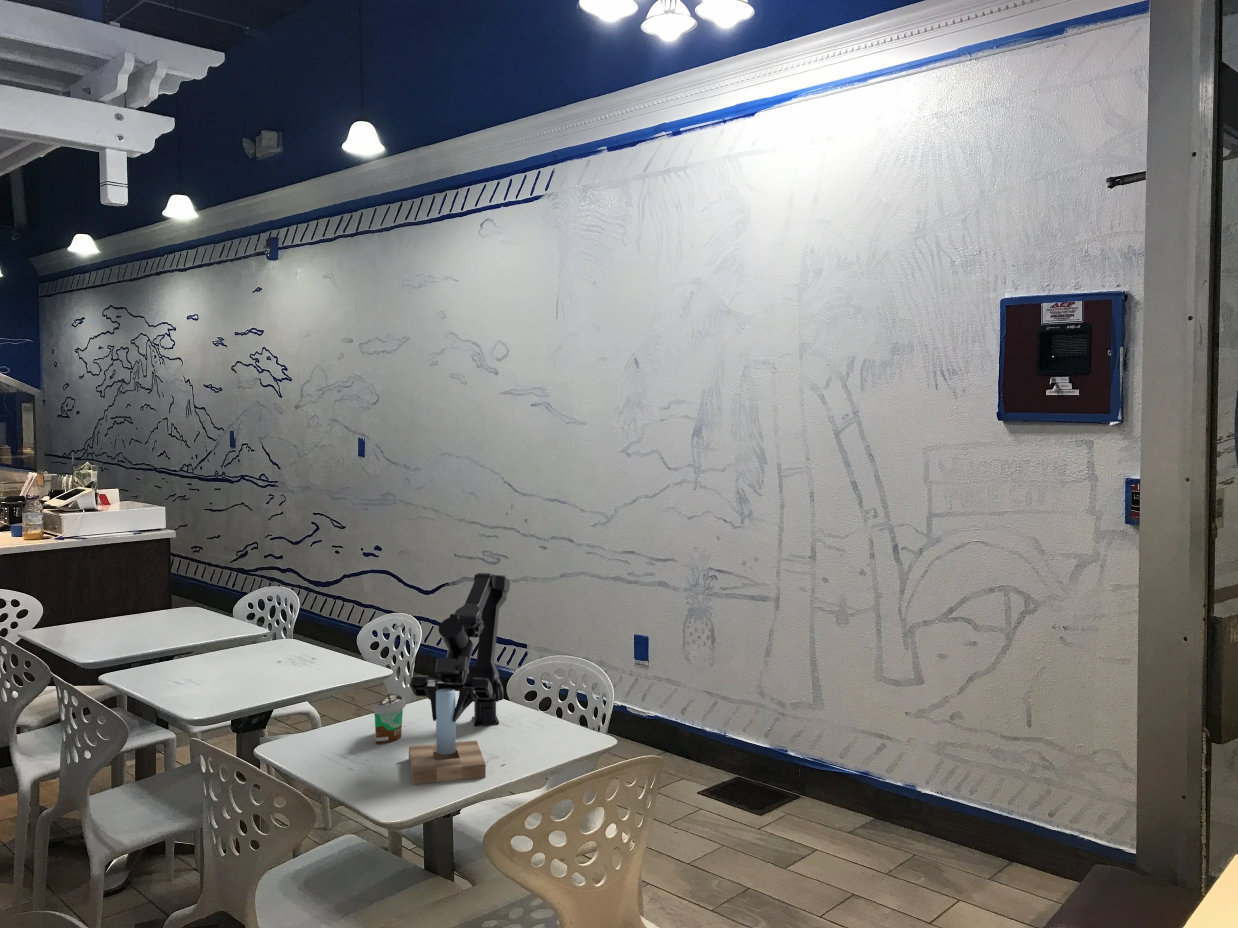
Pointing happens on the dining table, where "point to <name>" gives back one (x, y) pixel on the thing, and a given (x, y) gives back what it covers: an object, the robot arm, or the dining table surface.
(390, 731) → the food container
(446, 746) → the peg
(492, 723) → the robot arm
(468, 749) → the pocket block
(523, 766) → the dining table surface
